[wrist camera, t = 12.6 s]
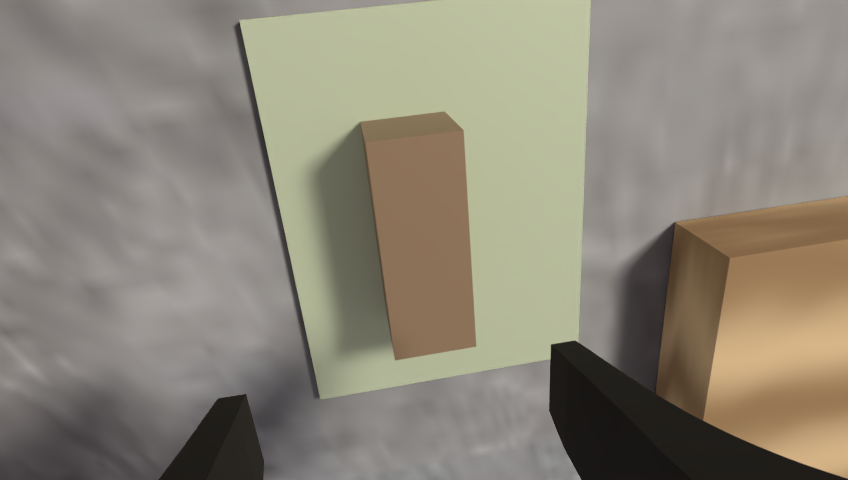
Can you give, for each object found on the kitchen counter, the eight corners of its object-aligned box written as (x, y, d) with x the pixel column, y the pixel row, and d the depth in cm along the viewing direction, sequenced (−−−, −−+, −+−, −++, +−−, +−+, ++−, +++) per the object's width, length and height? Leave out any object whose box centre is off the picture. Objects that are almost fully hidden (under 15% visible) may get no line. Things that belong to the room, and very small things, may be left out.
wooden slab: (823, 512, 33) (892, 583, 29) (636, 552, 32) (681, 634, 28) (926, 184, 24) (1046, 222, 20) (675, 222, 23) (749, 270, 19)
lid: (569, 341, 26) (608, 398, 22) (320, 384, 24) (319, 452, 21) (579, -15, 19) (636, -17, 16) (243, 19, 18) (222, 25, 14)
